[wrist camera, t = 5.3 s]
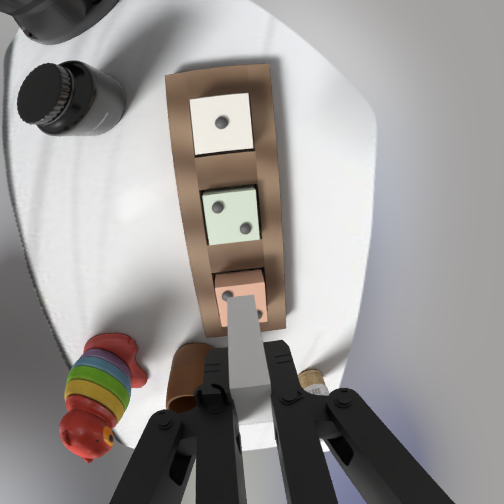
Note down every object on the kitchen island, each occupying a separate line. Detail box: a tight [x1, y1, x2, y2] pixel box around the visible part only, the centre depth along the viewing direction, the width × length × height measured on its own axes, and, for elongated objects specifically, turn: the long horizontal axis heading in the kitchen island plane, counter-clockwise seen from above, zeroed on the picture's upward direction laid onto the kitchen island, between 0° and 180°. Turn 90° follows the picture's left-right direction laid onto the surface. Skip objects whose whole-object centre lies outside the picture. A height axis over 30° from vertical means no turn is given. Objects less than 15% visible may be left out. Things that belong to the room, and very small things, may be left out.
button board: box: [165, 64, 286, 338], centre depth 28 cm, size 30×10×2 cm, turn 5°
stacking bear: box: [59, 333, 147, 463], centre depth 28 cm, size 11×10×18 cm
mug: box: [166, 343, 216, 414], centre depth 34 cm, size 12×8×9 cm, turn 10°
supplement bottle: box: [17, 61, 126, 136], centre depth 18 cm, size 7×7×12 cm
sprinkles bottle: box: [298, 369, 330, 452], centre depth 35 cm, size 5×5×13 cm
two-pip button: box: [202, 185, 260, 245], centre depth 28 cm, size 5×5×3 cm
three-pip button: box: [215, 269, 267, 327], centre depth 30 cm, size 5×5×3 cm
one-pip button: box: [190, 93, 253, 155], centre depth 23 cm, size 5×5×3 cm
